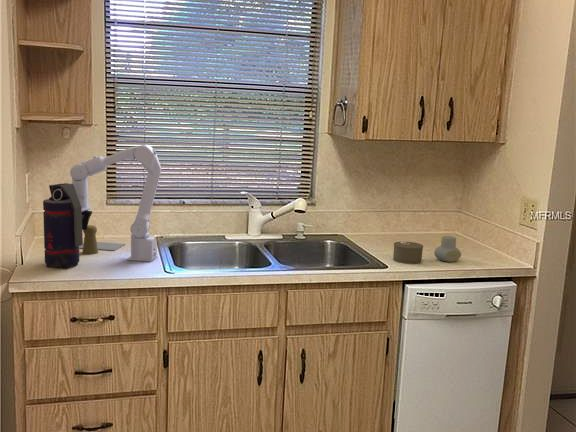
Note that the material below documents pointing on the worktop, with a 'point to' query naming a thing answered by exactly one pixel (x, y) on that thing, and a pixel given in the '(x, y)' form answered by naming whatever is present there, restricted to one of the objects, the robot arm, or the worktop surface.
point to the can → (408, 252)
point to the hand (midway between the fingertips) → (80, 231)
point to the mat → (107, 246)
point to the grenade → (62, 226)
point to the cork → (90, 240)
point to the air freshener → (447, 250)
